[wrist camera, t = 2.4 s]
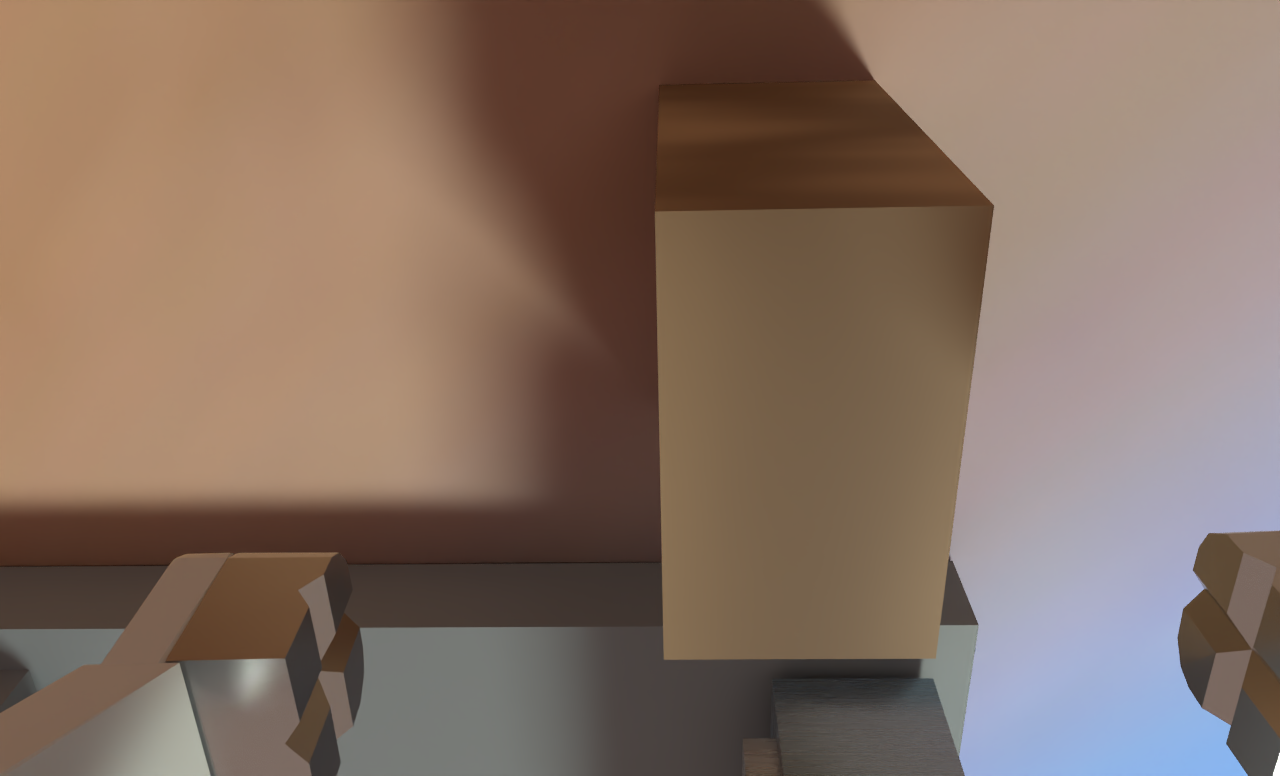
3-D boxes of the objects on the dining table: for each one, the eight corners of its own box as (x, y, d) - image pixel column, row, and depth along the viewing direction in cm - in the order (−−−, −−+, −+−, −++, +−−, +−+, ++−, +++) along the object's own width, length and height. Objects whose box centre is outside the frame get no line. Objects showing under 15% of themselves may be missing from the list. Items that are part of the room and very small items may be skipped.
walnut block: (874, 80, 17) (993, 205, 11) (850, 406, 20) (935, 658, 14) (659, 84, 17) (655, 211, 11) (665, 409, 20) (663, 659, 14)
